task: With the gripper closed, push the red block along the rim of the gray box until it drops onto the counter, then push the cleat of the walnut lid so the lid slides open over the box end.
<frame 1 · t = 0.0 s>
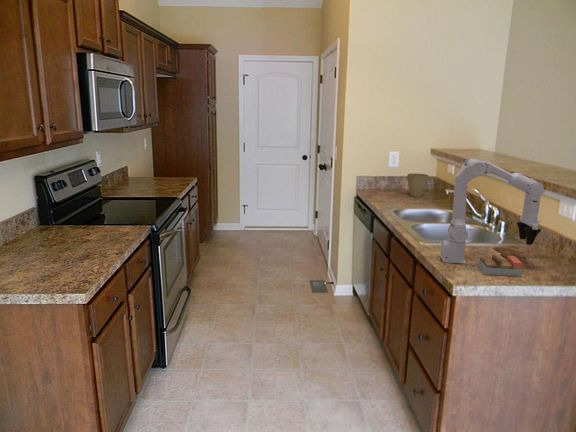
hand: (525, 241, 191), 10 cm above the countertop, tool pointing down, fingers open, 7 cm apart
lid: (496, 261, 183), point 4 cm above the countertop, slide at 0.0 cm
plant pot: (416, 196, 335), on the countertop
gray box: (498, 271, 184), on the countertop
wooden fragment: (512, 256, 205), on the countertop
red block: (513, 265, 183), point 3 cm above the countertop, touching gray box
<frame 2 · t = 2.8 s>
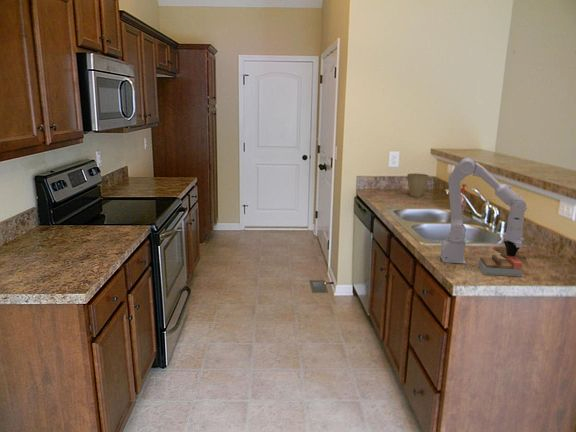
hand: (510, 259, 188), 4 cm above the countertop, tool pointing down, fingers closed
red block: (513, 265, 183), point 3 cm above the countertop, touching gripper
everything else where it was.
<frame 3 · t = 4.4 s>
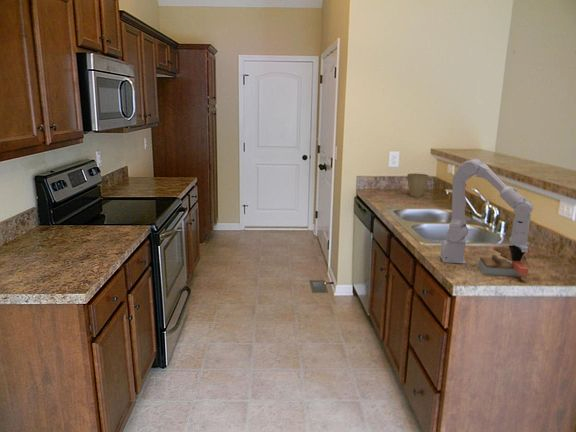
hand: (515, 264, 182), 4 cm above the countertop, tool pointing down, fingers closed
red block: (519, 270, 177), point 3 cm above the countertop, touching gripper, gray box
everything else where it was.
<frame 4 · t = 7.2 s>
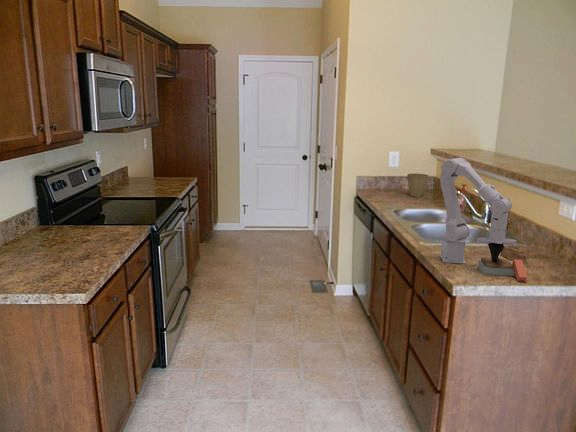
hand: (493, 261, 183), 5 cm above the countertop, tool pointing down, fingers closed
lid: (497, 261, 183), point 4 cm above the countertop, slide at 0.3 cm, touching gripper
red block: (518, 272, 178), point 2 cm above the countertop, tilted 31°, touching gray box
everything else where it was.
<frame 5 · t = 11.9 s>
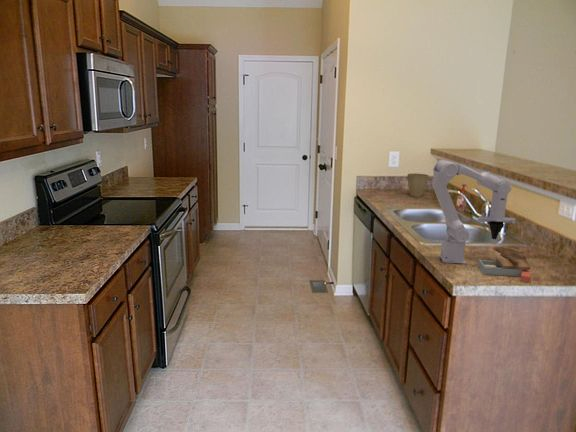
hand: (493, 238, 195), 10 cm above the countertop, tool pointing down, fingers closed
lid: (512, 262, 183), point 4 cm above the countertop, slide at 6.3 cm
red block: (525, 279, 178), on the countertop
everything else where it was.
at the end: lid slide at 6.3 cm; red block inside the target area (4.8 cm from its centre), on the countertop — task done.
